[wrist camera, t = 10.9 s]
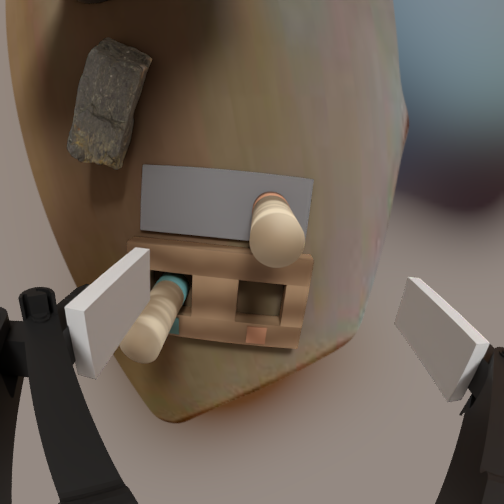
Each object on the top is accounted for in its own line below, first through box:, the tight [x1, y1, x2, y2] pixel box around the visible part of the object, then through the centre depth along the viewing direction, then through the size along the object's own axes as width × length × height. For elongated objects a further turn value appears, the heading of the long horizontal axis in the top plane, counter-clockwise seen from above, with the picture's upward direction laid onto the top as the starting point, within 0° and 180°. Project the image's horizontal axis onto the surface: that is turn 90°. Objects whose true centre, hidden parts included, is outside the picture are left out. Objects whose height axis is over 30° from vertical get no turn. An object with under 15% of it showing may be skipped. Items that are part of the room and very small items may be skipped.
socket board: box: [127, 236, 314, 349], centre depth 38 cm, size 12×22×3 cm, turn 84°
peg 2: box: [250, 191, 305, 268], centre depth 29 cm, size 4×4×14 cm
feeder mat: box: [140, 165, 314, 241], centre depth 36 cm, size 8×20×1 cm, turn 84°
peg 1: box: [119, 272, 190, 363], centre depth 33 cm, size 4×4×14 cm
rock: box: [67, 37, 152, 170], centre depth 30 cm, size 17×7×10 cm
